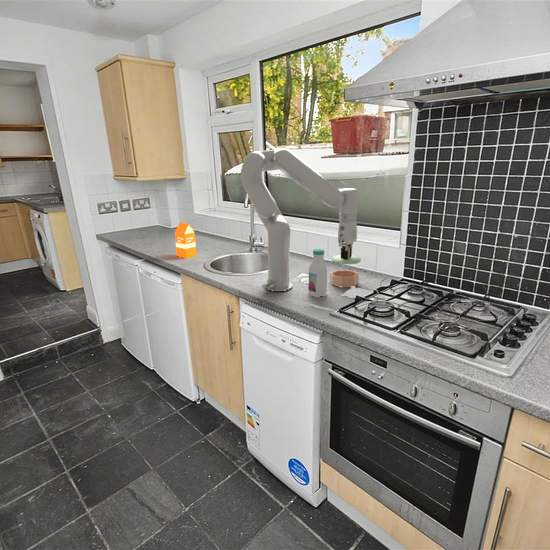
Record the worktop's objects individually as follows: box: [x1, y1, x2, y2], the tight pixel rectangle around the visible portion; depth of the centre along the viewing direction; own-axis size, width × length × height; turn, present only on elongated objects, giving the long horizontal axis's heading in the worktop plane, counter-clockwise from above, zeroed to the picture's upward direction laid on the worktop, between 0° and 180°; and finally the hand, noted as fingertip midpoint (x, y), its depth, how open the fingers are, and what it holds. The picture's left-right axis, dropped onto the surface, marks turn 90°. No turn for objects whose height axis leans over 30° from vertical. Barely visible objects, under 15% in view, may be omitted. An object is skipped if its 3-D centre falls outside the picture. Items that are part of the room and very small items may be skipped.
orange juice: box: [174, 222, 197, 259], centre depth 213 cm, size 8×9×20 cm
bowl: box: [329, 269, 360, 288], centre depth 166 cm, size 12×12×5 cm
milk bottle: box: [307, 248, 328, 298], centre depth 151 cm, size 8×8×20 cm
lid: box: [331, 246, 362, 265], centre depth 162 cm, size 13×13×6 cm
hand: (346, 257), depth 163 cm, fingers closed on lid, 3 cm apart
